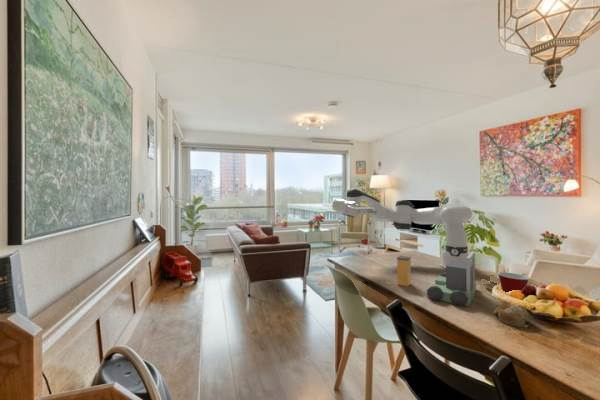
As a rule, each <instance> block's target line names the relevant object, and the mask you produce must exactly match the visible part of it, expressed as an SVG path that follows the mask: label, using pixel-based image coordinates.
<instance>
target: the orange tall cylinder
mask: <svg viewBox="0 0 600 400" xmlns="http://www.w3.org/2000/svg"><path fill="white" fill-rule="evenodd" d="M411 259H412V257H411V256H406V255H399V256H398V257H397V258H396V260H397V264H396V265H397V266H396V267H397V268H396V269H397V273H396V274H397V275H396V277H397V285H398V286H404V287H409V286H410V285H411V282H412V281H411V277H412V275H411Z"/></svg>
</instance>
